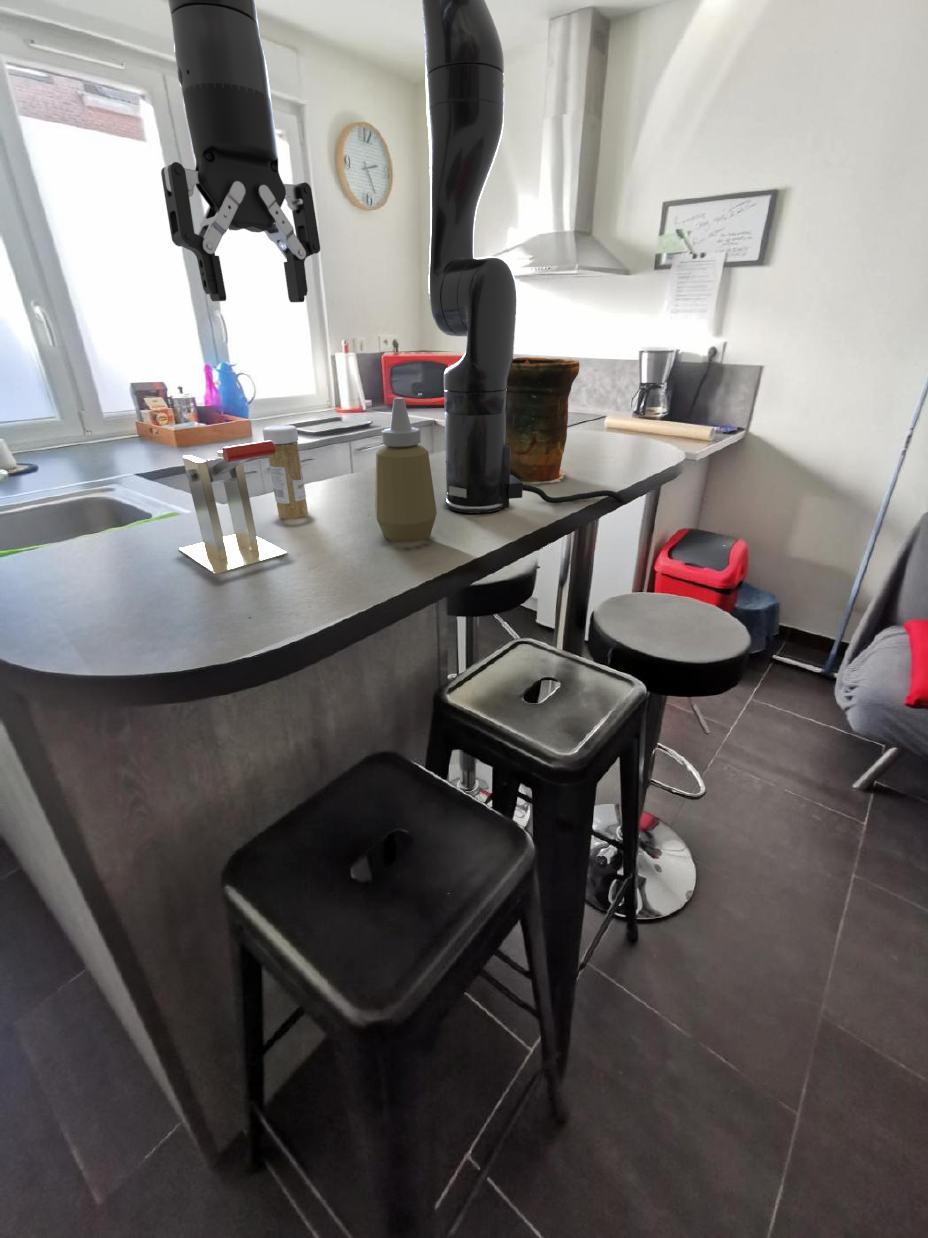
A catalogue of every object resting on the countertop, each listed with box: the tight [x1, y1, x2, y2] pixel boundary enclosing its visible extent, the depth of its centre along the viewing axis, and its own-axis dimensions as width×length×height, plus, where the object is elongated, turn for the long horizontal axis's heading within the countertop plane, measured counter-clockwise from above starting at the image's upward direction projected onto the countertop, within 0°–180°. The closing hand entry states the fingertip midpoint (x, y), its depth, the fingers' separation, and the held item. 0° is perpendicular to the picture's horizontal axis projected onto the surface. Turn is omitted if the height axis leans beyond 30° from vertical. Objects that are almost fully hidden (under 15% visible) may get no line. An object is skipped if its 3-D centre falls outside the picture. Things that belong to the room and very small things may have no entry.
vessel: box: [506, 356, 580, 485], centre depth 101 cm, size 14×14×20 cm
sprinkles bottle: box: [262, 424, 309, 520], centre depth 81 cm, size 5×5×13 cm
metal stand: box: [178, 450, 288, 576], centre depth 67 cm, size 11×9×13 cm
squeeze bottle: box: [374, 397, 438, 543], centre depth 72 cm, size 8×8×18 cm
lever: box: [205, 440, 275, 486], centre depth 61 cm, size 13×5×2 cm, turn 43°
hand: (260, 301), depth 58 cm, fingers open, 8 cm apart
